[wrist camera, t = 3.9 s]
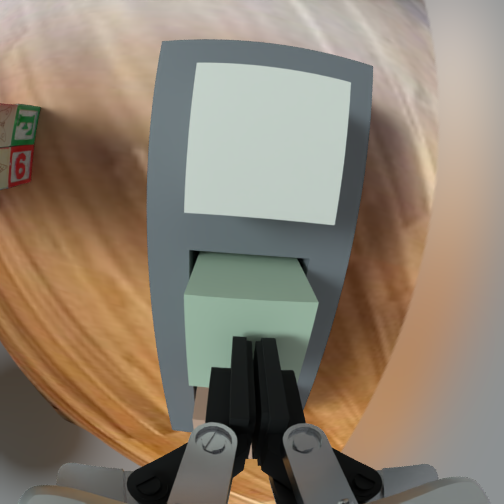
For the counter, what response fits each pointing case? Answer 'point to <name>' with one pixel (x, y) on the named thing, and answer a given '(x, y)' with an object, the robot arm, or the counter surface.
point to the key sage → (245, 310)
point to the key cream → (266, 143)
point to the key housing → (235, 227)
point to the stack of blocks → (17, 143)
